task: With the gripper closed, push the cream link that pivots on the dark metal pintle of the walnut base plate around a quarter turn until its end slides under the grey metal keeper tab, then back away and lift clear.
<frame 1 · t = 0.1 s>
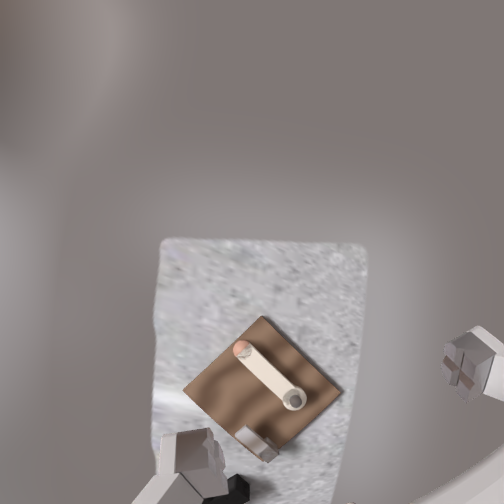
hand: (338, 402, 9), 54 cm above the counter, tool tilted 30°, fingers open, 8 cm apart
digital camera: (224, 487, 56), on the counter
link: (269, 375, 58), point 3 cm above the counter, hinge at 0.0°
pivot base: (291, 393, 60), on the counter
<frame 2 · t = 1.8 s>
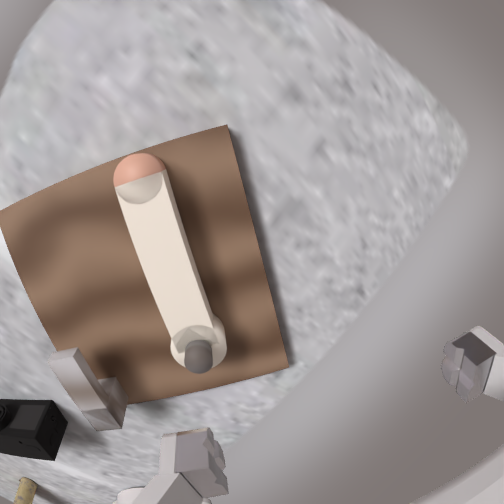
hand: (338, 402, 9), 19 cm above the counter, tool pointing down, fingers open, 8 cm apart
small jar: (28, 483, 36), on the counter
digital camera: (30, 406, 30), on the counter
link: (171, 269, 24), point 3 cm above the counter, hinge at 0.0°
pivot base: (198, 322, 29), on the counter
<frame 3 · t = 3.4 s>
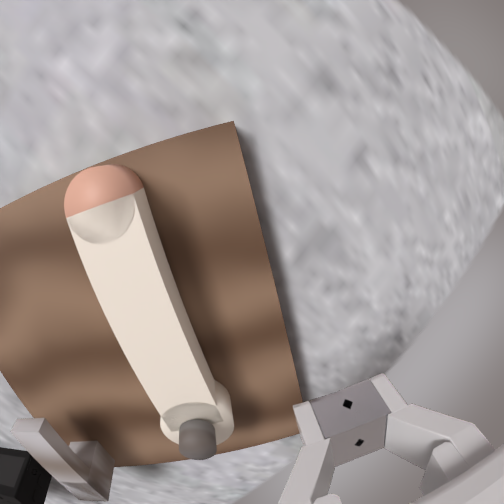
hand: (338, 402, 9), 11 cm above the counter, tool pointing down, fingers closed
digital camera: (11, 454, 23), on the counter
link: (155, 331, 16), point 3 cm above the counter, hinge at 0.0°
pivot base: (196, 384, 21), on the counter
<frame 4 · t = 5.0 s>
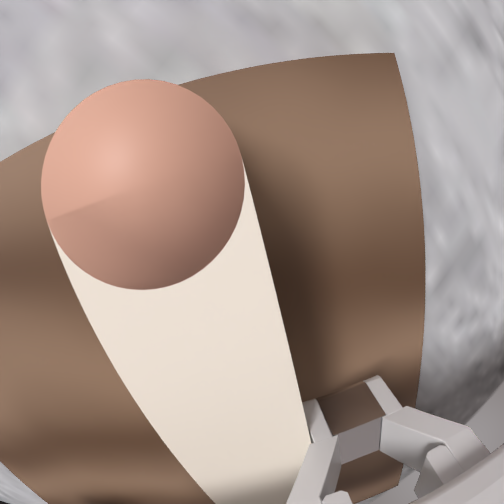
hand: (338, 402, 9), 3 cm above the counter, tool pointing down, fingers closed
link: (242, 429, 8), point 3 cm above the counter, hinge at 0.0°, touching gripper
pivot base: (270, 458, 14), on the counter
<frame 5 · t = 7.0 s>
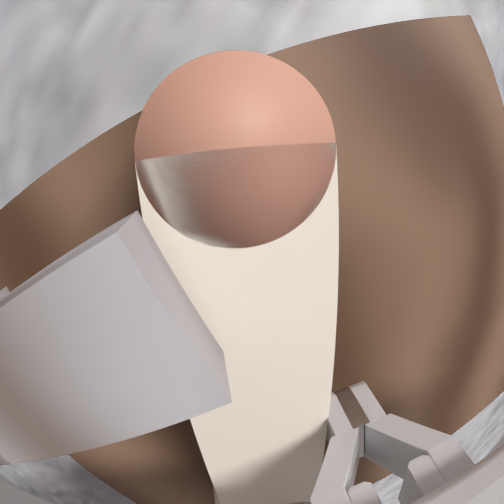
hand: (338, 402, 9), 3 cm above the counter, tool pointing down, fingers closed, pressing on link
link: (257, 412, 9), point 3 cm above the counter, hinge at 69.6°, touching gripper
pivot base: (255, 455, 14), on the counter
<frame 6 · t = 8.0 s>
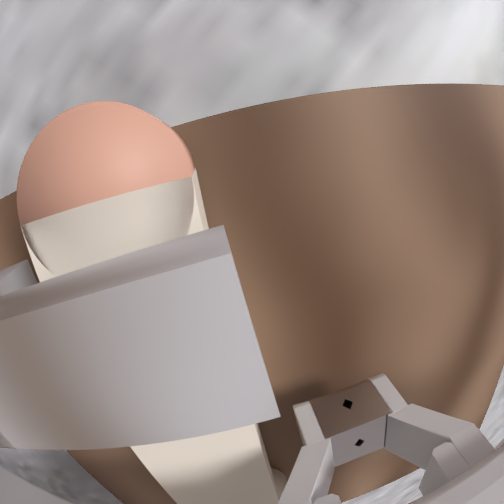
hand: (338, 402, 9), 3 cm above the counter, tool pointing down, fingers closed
link: (199, 429, 9), point 3 cm above the counter, hinge at 86.1°
pivot base: (234, 460, 14), on the counter
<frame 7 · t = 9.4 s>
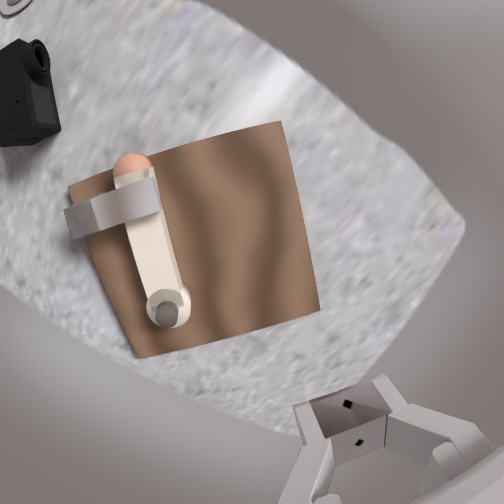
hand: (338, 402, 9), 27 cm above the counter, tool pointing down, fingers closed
digital camera: (43, 95, 27), on the counter
link: (151, 243, 31), point 3 cm above the counter, hinge at 86.1°
pivot base: (171, 291, 36), on the counter
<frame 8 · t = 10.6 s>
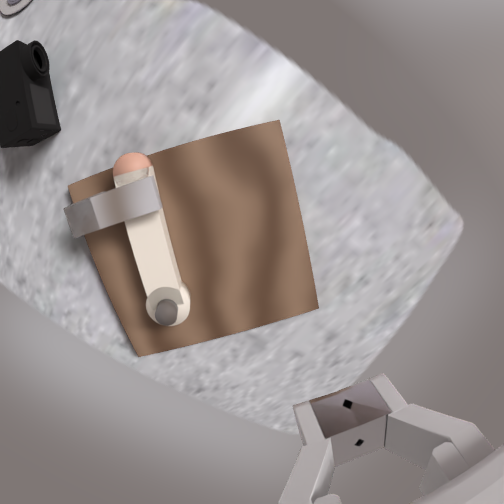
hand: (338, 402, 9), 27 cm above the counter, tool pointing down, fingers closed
digital camera: (43, 96, 27), on the counter
link: (151, 242, 31), point 3 cm above the counter, hinge at 86.1°
pivot base: (171, 289, 36), on the counter
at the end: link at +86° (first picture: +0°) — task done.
